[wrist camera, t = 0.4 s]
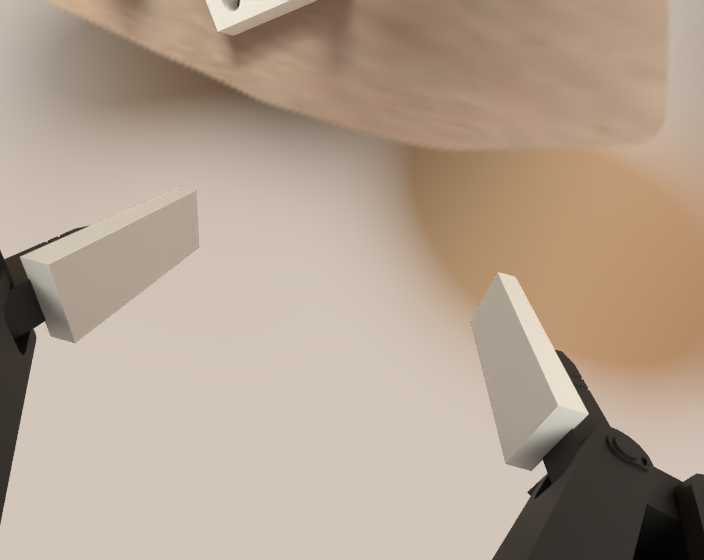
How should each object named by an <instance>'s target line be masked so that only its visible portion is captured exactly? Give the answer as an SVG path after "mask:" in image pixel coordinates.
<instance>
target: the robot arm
mask: <svg viewBox="0 0 704 560" xmlns="http://www.w3.org/2000/svg"><path fill="white" fill-rule="evenodd" d="M198 248H199V238H198V216H197V193H196V191H195V190H192V189H188V188H184V187H180V186H178V187H176V188H174V189H172V190H169V191H167V192H165V193H163V194H160V195H158V196H156V197H154V198H151V199H149V200H147V201H145V202H142V203H140V204H138V205H135V206H133V207H131V208H129V209H127V210H124V211H122V212H120V213H118V214H115V215H113V216H111V217H108V218H106V219H104V220H102V221H99V222H97V223H95V224H93V225H90V226H86V227H81V228H76V229H73V230H71V231H69V232H66V233H64V234H62V235H60V237H55V238H53V239H50V240H49V241H48V242H44V243H41V244H39V245H36V246H34V247H32V248H30V249H27V250H25V251H23V252H20V253H18V254H16V255H14V256H11V257H9V258H6V259H4V258H3V256H2V253H1V251H0V523H1V518H2V512H3V507H4V502H5V497H6V491H7V487H8V482H9V476H10V471H11V466H12V461H13V456H14V451H15V446H16V440H17V435H18V430H19V425H20V420H21V415H22V410H23V404H24V399H25V394H26V389H27V384H28V379H29V374H30V369H31V364H32V358H33V353H34V348H35V343H36V334H35V331H34V329H33V328H35V327H36V326H38V325H40V324H41V323H43V322H44V321H45V323H46V325H47V328H48V330H49V333H50V336H52V337H55V338H59V339H63V340H66V341H70V342H73V343H76V342H77V341H79V340H80V339H81V338H82V337H84V336H85V335H86V334H88V333H89V332H90V331H91V330H93V329H94V328H95V327H97V326H98V325H99V324H101V323H102V322H103V321H104V320H106V319H107V318H108V317H110V316H111V315H112V314H113V313H115V312H116V311H117V310H119V309H120V308H121V307H122V306H124V305H125V304H126V303H128V302H129V301H130V300H132V299H133V298H134V297H135V296H137V295H138V294H139V293H141V292H142V291H143V290H145V289H146V288H147V287H148V286H150V285H151V284H152V283H154V282H155V281H156V280H157V279H159V278H160V277H161V276H162V275H164V274H165V273H167V272H168V271H169V270H170V269H172V268H173V267H174V266H175V265H177V264H178V263H179V262H181V261H182V260H183V259H185V258H186V257H187V256H189V255H190V254H191V253H192V252H194V251H195V250H196V249H198ZM471 326H472V330H473V333H474V337H475V342H476V346H477V350H478V354H479V358H480V362H481V366H482V370H483V374H484V378H485V382H486V386H487V390H488V394H489V398H490V402H491V407H492V410H493V414H494V419H495V422H496V426H497V431H498V435H499V439H500V443H501V447H502V451H503V455H504V459H505V463H506V464H509V465H512V466H516V467H519V468H523V469H527V470H530V471H532V470H533V469H534V468H535V467H536V466H537V465H538V464H539V463H540V462H541V461H542V460H543V461H544V464H545V467H546V469H547V473H548V474H547V475H545V476H544V477H543V478H542V479H541V480H540V481H539V482H538V483H537V484H536V485H535V486H534V487H533V488H532V489H530V490H529V491H528V494H529V495H530V496H531V497H530V499H529V500H528V502H527V504H526V505H525V507H524V508H523V510H522V512H521V513H520V515H519V517H518V518H517V520H516V522H515V523H514V525H513V526H512V528H511V530H510V531H509V533H508V535H507V536H506V538H505V540H504V541H503V543H502V544H501V546H500V548H499V549H498V551H497V553H496V554H495V556H494V557H493V559H492V560H704V475H702V474H695V475H693V476H692V477H690V478H689V479H687V480H686V481H684V482H682V481H680V480H678V479H676V478H674V477H672V476H670V475H668V474H667V473H665V472H663V471H661V470H659V469H657V468H655V467H654V466H653V464H652V462H651V460H650V458H649V456H648V455H647V454H646V453H645V451H644V450H643V449H642V448H641V447H640V446H639V445H638V444H637V443H636V442H635V441H634V440H632V439H631V438H630V437H629V436H627V435H625V434H624V433H622V432H620V431H619V430H617V429H614V428H611V427H610V425H609V424H608V422H607V420H606V418H605V416H604V415H603V413H602V411H601V410H600V408H599V406H598V404H597V403H596V401H595V399H594V398H593V396H592V394H591V392H590V391H589V390H587V389H588V387H587V385H586V384H585V382H584V380H582V379H581V378H582V377H581V375H580V373H579V371H578V370H577V368H576V366H575V365H574V364H573V362H572V361H571V360H570V359H569V358H568V357H567V356H566V355H565V354H564V353H563V352H561V351H558V350H554V348H553V346H552V344H551V342H550V340H549V339H548V337H547V335H546V333H545V331H544V330H543V328H542V326H541V324H540V322H539V320H538V318H537V316H536V314H535V313H534V311H533V309H532V307H531V305H530V303H529V301H528V299H527V298H526V296H525V294H524V292H523V290H522V288H521V286H520V284H519V283H518V281H517V279H516V277H514V276H511V275H507V274H503V273H500V272H497V274H496V276H495V278H494V279H493V281H492V283H491V285H490V287H489V289H488V290H487V292H486V294H485V296H484V298H483V299H482V301H481V303H480V305H479V307H478V309H477V310H476V312H475V314H474V316H473V318H472V320H471Z"/></svg>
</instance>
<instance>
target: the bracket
mask: <svg viewBox="0 0 704 560" xmlns="http://www.w3.org/2000/svg"><path fill="white" fill-rule="evenodd" d="M315 1H317V0H240V5H239V7H238V0H206V2H207V5H208V7H209V10H210V13H211V15H212V18H213V20H214V23H215V26H216V28H217V31H218V32H221V33H225V34H228V35H232V36H234V35H237V34H239V33H242V32H244V31H246V30H249V29H251V28H253V27H256V26H258V25H260V24H263V23H265V22H268V21H270V20H272V19H275V18H277V17H279V16H282V15H284V14H286V13H289V12H291V11H294V10H296V9H298V8H301V7H303V6H305V5H308V4H310V3H312V2H315Z"/></svg>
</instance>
